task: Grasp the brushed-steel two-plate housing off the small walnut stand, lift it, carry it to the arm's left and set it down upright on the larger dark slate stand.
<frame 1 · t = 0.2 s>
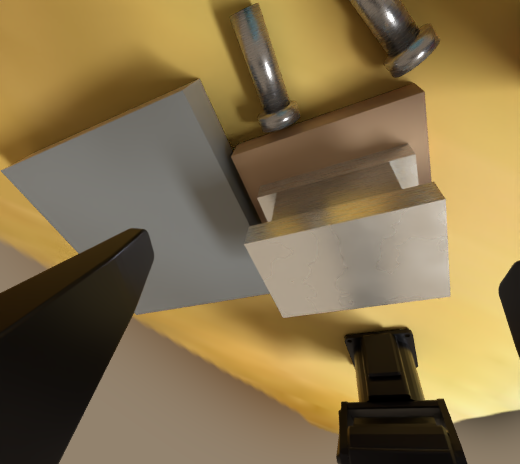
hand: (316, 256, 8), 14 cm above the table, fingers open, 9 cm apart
stand a: (337, 191, 21), on the table
bolt 1: (263, 60, 17), on the table
stand b: (167, 213, 25), on the table
bolt 2: (372, 0, 15), on the table
housing: (339, 206, 20), point 2 cm above the table, touching stand a
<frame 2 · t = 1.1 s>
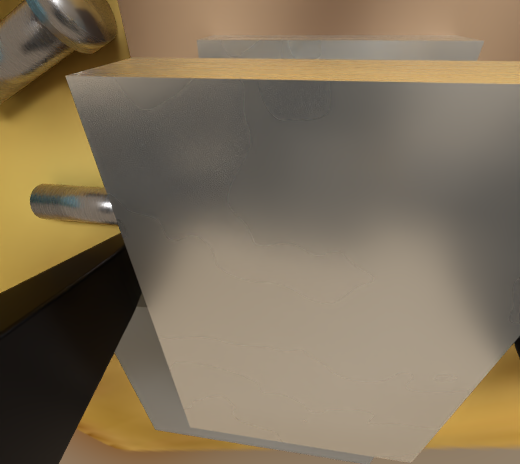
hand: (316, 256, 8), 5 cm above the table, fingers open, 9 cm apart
stand a: (312, 167, 12), on the table
bolt 1: (105, 196, 14), on the table
stand b: (262, 352, 20), on the table
bolt 2: (38, 47, 11), on the table
housing: (312, 192, 10), point 2 cm above the table, touching stand a
when the fingers open (5 cm above the table, at t = 6.6 s): housing drops 1 cm, resting on stand b.
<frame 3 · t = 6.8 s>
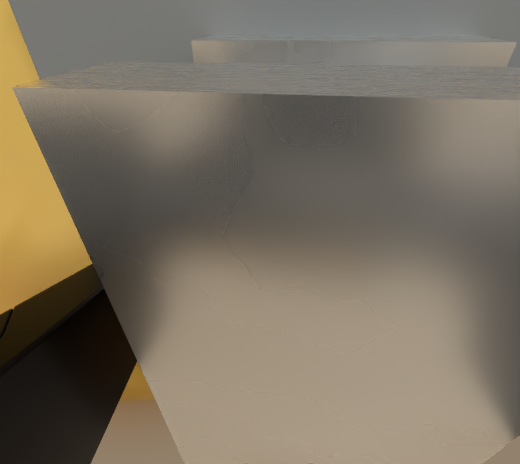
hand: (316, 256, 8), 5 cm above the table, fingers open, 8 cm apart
stand b: (314, 166, 12), on the table
housing: (317, 204, 10), point 3 cm above the table, touching stand b
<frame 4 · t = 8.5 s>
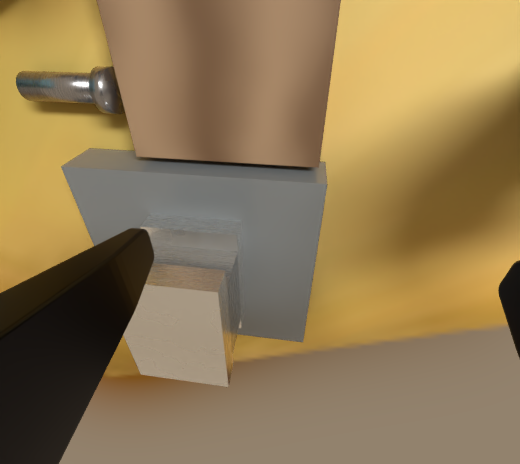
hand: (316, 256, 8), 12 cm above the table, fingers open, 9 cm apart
stand a: (226, 49, 16), on the table
bolt 1: (75, 85, 18), on the table
stand b: (212, 243, 24), on the table
housing: (202, 268, 22), point 3 cm above the table, touching stand b
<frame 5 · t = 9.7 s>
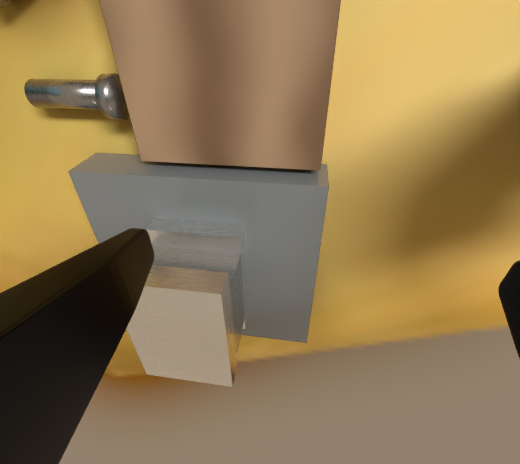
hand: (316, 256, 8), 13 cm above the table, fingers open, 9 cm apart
stand a: (228, 55, 16), on the table
bolt 1: (81, 91, 19), on the table
stand b: (216, 245, 25), on the table
housing: (206, 269, 22), point 3 cm above the table, touching stand b
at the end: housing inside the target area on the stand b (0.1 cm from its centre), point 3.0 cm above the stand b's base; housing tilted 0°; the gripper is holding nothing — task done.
